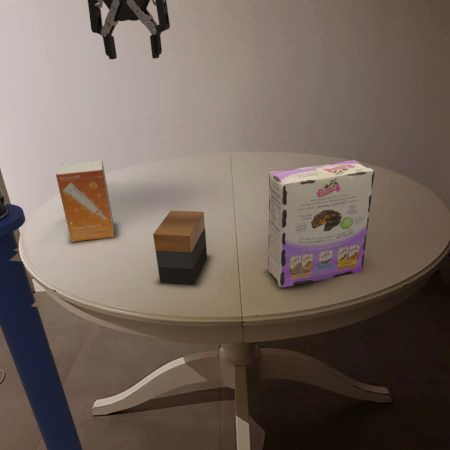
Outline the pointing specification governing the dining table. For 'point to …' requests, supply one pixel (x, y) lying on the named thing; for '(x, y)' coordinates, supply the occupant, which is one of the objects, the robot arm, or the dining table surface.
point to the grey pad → (181, 256)
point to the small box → (85, 200)
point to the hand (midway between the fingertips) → (134, 58)
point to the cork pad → (179, 231)
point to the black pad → (183, 272)
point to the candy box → (318, 221)
